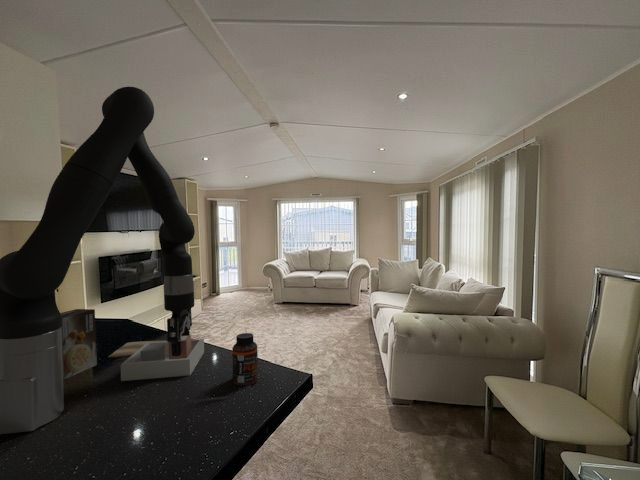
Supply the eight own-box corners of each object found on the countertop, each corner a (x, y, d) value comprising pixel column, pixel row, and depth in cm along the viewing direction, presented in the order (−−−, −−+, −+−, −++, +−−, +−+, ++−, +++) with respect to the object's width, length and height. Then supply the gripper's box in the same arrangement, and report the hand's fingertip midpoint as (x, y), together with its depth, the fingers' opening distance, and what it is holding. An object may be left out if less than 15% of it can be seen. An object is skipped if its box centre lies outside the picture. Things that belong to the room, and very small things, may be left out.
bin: (190, 377, 77) (189, 359, 77) (121, 383, 75) (120, 364, 75) (204, 353, 93) (203, 338, 93) (147, 358, 90) (147, 342, 90)
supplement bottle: (245, 390, 70) (244, 341, 70) (227, 384, 73) (226, 336, 73) (263, 379, 75) (262, 333, 75) (245, 374, 78) (244, 330, 78)
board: (152, 356, 92) (152, 353, 92) (108, 359, 90) (108, 356, 90) (166, 342, 103) (166, 339, 103) (127, 345, 102) (127, 342, 102)
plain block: (159, 368, 81) (158, 349, 81) (140, 370, 81) (140, 351, 81) (165, 361, 86) (164, 344, 86) (147, 363, 85) (147, 345, 85)
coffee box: (78, 365, 86) (77, 308, 86) (97, 366, 85) (96, 308, 85) (43, 380, 77) (41, 316, 77) (64, 382, 76) (62, 317, 76)
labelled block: (187, 366, 82) (186, 340, 82) (169, 367, 82) (168, 341, 82) (191, 359, 87) (190, 335, 87) (174, 361, 86) (173, 336, 86)
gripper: (186, 295, 78) (188, 358, 78) (199, 286, 92) (201, 339, 92) (154, 297, 77) (157, 361, 77) (172, 287, 91) (174, 341, 91)
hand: (181, 349), depth 85 cm, fingers open, 8 cm apart
